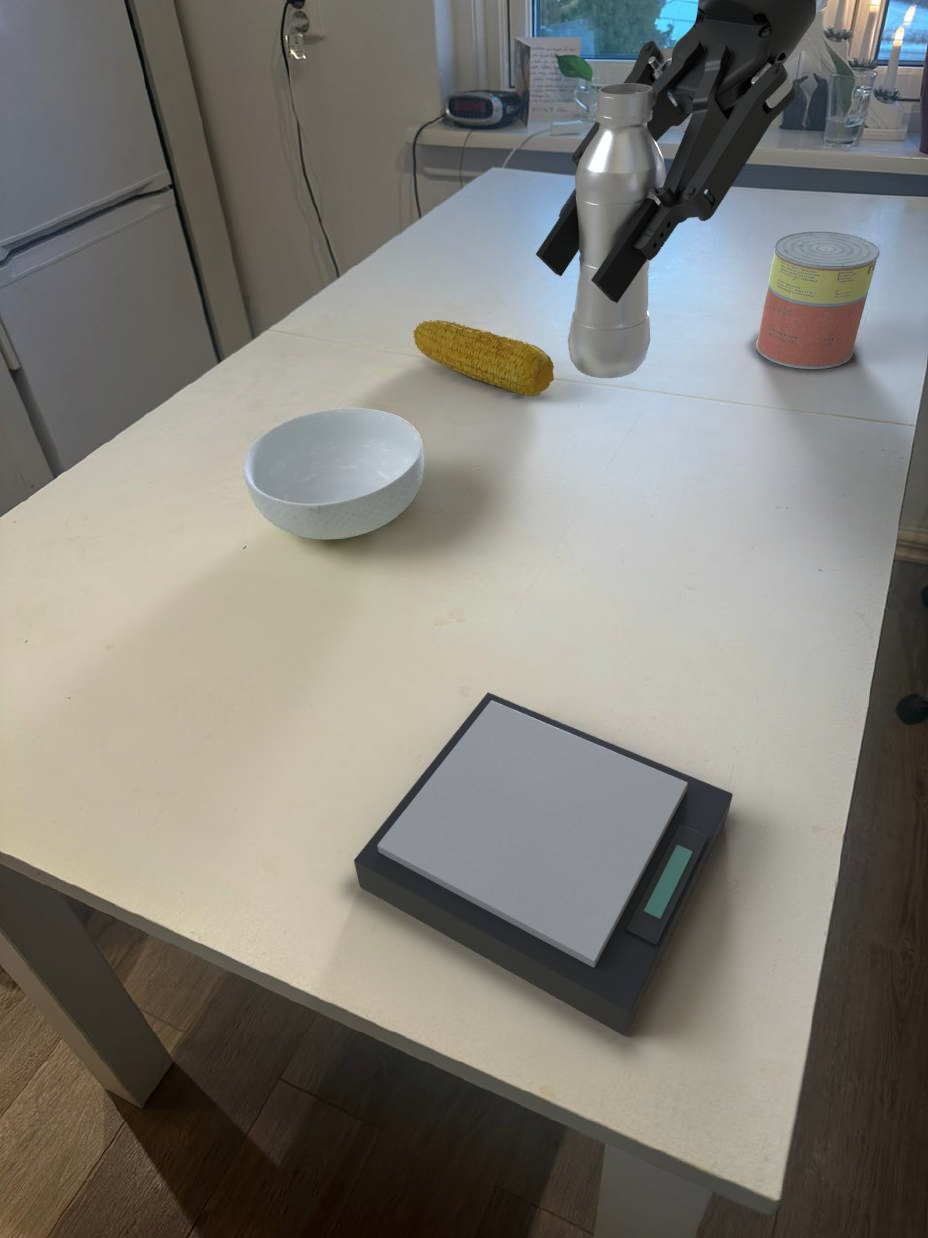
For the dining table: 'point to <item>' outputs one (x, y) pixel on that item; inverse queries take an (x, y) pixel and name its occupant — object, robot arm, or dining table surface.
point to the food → (486, 356)
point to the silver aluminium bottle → (613, 231)
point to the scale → (549, 855)
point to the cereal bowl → (335, 472)
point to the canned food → (815, 299)
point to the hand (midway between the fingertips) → (575, 277)
